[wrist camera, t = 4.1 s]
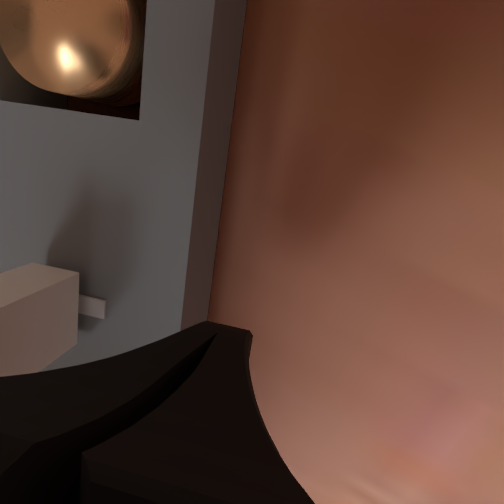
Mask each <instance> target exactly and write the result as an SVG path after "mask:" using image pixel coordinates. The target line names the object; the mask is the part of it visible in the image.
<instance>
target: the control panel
mask: <svg viewBox="0 0 504 504" xmlns="http://www.w3.org/2000/svg"><path fill="white" fill-rule="evenodd" d="M246 5H247V0H147V10H146V25H145V40H144V55H143V70H142V86H141V101H140V116H139V120H132V119H125V118H118V117H111V116H105V115H98V114H91V113H84V112H77V111H70V110H67V95H64V94H60V93H56V92H52V91H47V90H44V89H42V88H39V87H37V86H35V85H33V84H31V83H30V82H29V81H27V80H26V79H25V78H23V77H22V76H21V75H20V74H19V73H18V72H17V71H16V70H15V68H14V67H13V66H12V65H11V63H10V62H9V60H8V59H7V57H6V55H5V53H4V51H3V49H2V47H1V44H0V273H3V272H6V271H9V270H12V269H15V268H18V267H20V266H23V265H26V264H29V263H32V262H33V263H38V264H42V265H47V266H52V267H56V268H61V269H65V270H70V271H74V272H79V301H78V333H77V345H75V346H74V347H72V348H71V349H70V350H68V351H67V352H65V353H64V354H63V355H61V356H60V357H58V358H57V359H56V360H54V361H53V362H52V363H50V364H49V365H47V366H46V367H45V368H43V369H42V370H40V371H39V372H42V371H48V370H53V369H59V368H65V367H70V366H76V365H81V364H85V363H89V362H93V361H97V360H101V359H105V358H109V357H112V356H115V355H119V354H122V353H125V352H128V351H131V350H133V349H136V348H139V347H142V346H144V345H147V344H150V343H153V342H155V341H158V340H160V339H163V338H165V337H167V336H170V335H172V334H175V333H177V332H179V331H182V330H184V329H186V328H188V327H191V326H193V325H195V324H198V323H201V322H204V321H207V318H208V310H209V302H210V294H211V286H212V278H213V270H214V262H215V254H216V246H217V238H218V230H219V222H220V214H221V206H222V198H223V189H224V181H225V173H226V165H227V157H228V149H229V141H230V133H231V125H232V117H233V109H234V101H235V93H236V85H237V77H238V69H239V61H240V53H241V45H242V37H243V29H244V21H245V13H246Z"/></svg>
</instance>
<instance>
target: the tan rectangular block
mask: <svg viewBox="0 0 504 504" xmlns="http://www.w3.org/2000/svg"><path fill="white" fill-rule="evenodd" d="M78 301H79V272H74V271H70V270H65V269H61V268H56V267H52V266H47V265H42V264H38V263H33V262H32V263H29V264H26V265H23V266H20V267H18V268H15V269H12V270H9V271H6V272H3V273H0V377H3V376H13V375H21V374H29V373H36V372H39V371H40V370H42V369H43V368H45V367H46V366H47V365H49V364H50V363H52V362H53V361H54V360H56V359H57V358H58V357H60V356H61V355H63V354H64V353H65V352H67V351H68V350H70V349H71V348H72V347H74V346H75V345H77V333H78Z"/></svg>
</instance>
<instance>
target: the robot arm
mask: <svg viewBox="0 0 504 504" xmlns="http://www.w3.org/2000/svg"><path fill="white" fill-rule="evenodd" d="M252 338H253V335H252V334H251V332H250V331H249V330H245V329H240V328H236V327H231V326H227V325H223V324H218V323H214V322H210V321H204V322H201V323H198V324H195V325H193V326H191V327H188V328H186V329H184V330H182V331H179V332H177V333H175V334H172V335H170V336H167V337H165V338H163V339H160V340H158V341H155V342H153V343H150V344H147V345H144V346H142V347H139V348H136V349H133V350H131V351H128V352H125V353H122V354H119V355H115V356H112V357H109V358H105V359H101V360H97V361H93V362H89V363H85V364H81V365H76V366H70V367H65V368H59V369H53V370H48V371H42V372H36V373H29V374H21V375H13V376H3V377H0V504H315V503H314V502H313V501H312V499H311V498H310V497H309V495H308V494H307V493H306V492H305V490H304V489H303V488H302V487H301V485H300V484H299V483H298V481H297V480H296V479H295V478H294V476H293V475H292V474H291V472H290V471H289V469H288V467H287V466H286V464H285V463H284V461H283V459H282V458H281V456H280V454H279V452H278V450H277V448H276V446H275V444H274V442H273V441H272V439H271V437H270V435H269V433H268V431H267V429H266V426H265V424H264V421H263V419H262V416H261V414H260V411H259V408H258V405H257V402H256V399H255V395H254V391H253V387H252V382H251V377H250V370H249V356H250V350H251V344H252Z"/></svg>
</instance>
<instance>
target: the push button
mask: <svg viewBox="0 0 504 504" xmlns="http://www.w3.org/2000/svg"><path fill="white" fill-rule="evenodd" d="M146 10H147V0H0V44H1V47H2V49H3V51H4V53H5V55H6V57H7V59H8V60H9V62H10V63H11V65H12V66H13V67H14V68H15V70H16V71H17V72H18V73H19V74H20V75H21V76H22V77H23V78H25V79H26V80H27V81H29V82H30V83H31V84H33V85H35V86H37V87H39V88H42V89H44V90H47V91H52V92H56V93H60V94H64V95H69V96H73V97H77V98H82V99H86V100H90V101H94V102H99V103H103V104H107V105H112V106H128V105H133V104H135V103H138V102H140V101H141V86H142V70H143V55H144V40H145V25H146Z"/></svg>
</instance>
